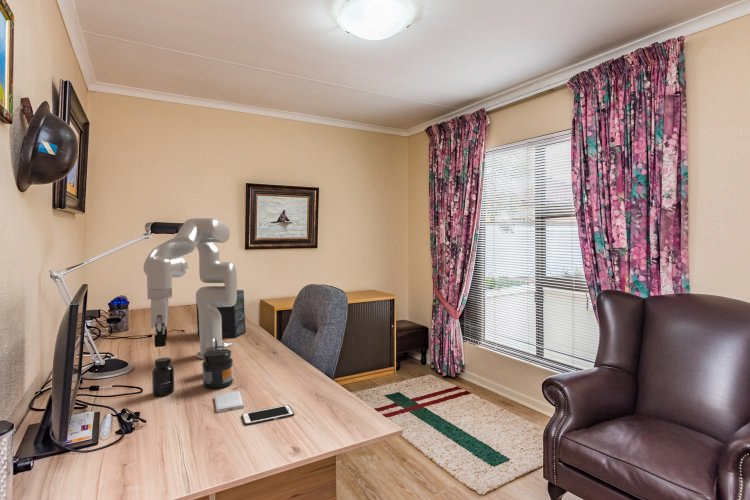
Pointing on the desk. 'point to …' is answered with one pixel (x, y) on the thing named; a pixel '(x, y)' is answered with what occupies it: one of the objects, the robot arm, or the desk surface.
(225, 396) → the hard drive
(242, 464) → the desk surface
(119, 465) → the desk surface
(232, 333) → the headset box
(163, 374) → the supplement bottle
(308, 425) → the desk surface
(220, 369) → the supplement container
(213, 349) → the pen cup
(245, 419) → the cell phone
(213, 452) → the desk surface
